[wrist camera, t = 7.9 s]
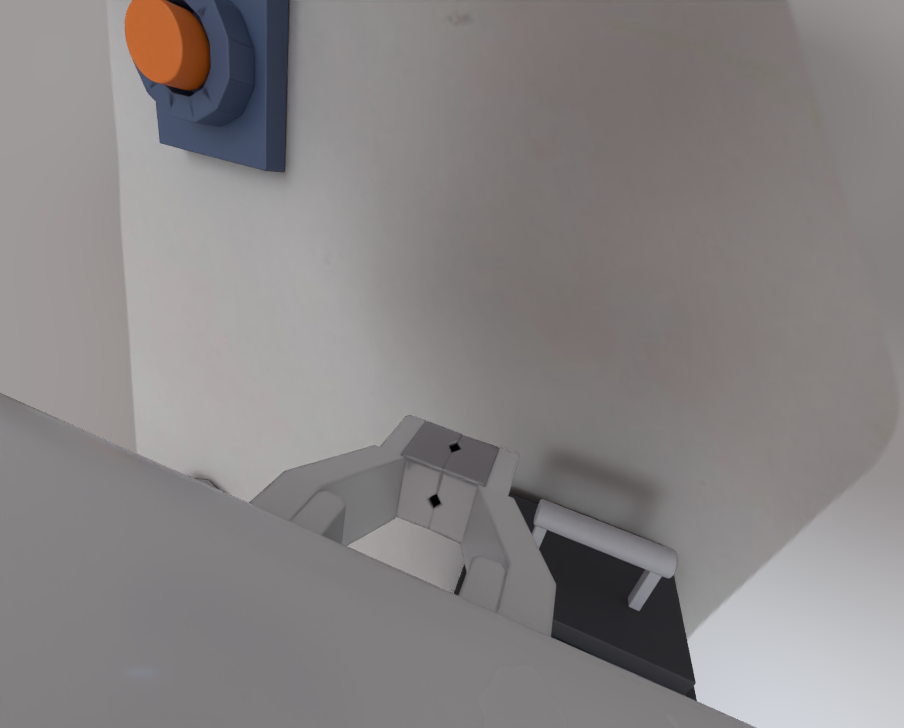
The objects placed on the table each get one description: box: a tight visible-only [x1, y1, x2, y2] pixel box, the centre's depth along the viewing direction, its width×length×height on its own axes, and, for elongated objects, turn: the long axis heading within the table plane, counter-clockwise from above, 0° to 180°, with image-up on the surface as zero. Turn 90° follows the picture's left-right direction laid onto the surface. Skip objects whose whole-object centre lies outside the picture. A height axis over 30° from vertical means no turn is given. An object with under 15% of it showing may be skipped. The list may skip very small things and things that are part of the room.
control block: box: [132, 0, 289, 172], centre depth 23 cm, size 10×8×4 cm
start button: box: [125, 0, 211, 90], centre depth 21 cm, size 4×4×2 cm
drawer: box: [508, 493, 695, 696], centre depth 26 cm, size 17×11×8 cm
